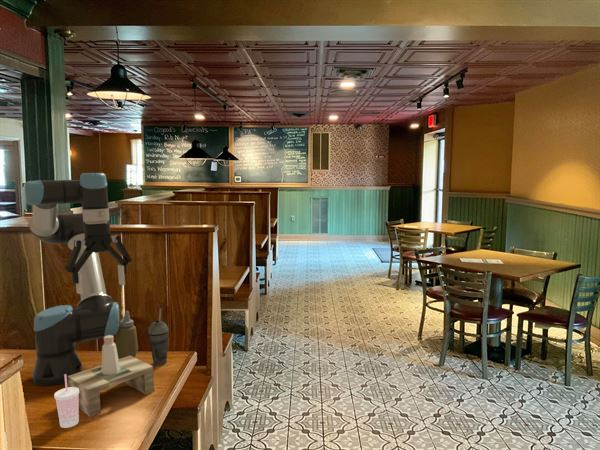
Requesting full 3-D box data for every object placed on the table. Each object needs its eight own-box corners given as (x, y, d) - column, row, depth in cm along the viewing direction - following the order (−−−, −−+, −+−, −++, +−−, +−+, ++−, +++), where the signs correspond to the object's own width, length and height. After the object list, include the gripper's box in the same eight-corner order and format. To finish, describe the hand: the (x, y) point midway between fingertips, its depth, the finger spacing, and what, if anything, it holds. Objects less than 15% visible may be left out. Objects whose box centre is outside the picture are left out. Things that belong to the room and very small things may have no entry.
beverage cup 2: (149, 360, 167) (146, 307, 165) (170, 357, 169) (167, 305, 167) (149, 368, 160) (145, 313, 158) (171, 365, 163) (167, 310, 160)
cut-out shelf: (69, 401, 138) (67, 376, 137) (132, 378, 153) (130, 355, 152) (90, 417, 129) (88, 389, 128) (154, 390, 143) (152, 366, 142)
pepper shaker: (100, 376, 136) (97, 340, 135) (102, 369, 141) (99, 334, 140) (119, 373, 138) (117, 338, 137) (121, 366, 143) (118, 332, 142)
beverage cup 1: (85, 422, 126) (81, 373, 124) (62, 432, 121) (57, 381, 120) (76, 415, 130) (72, 367, 128) (53, 424, 125) (48, 375, 124)
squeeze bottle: (130, 364, 164) (130, 315, 162) (109, 361, 166) (110, 313, 164) (142, 356, 172) (142, 309, 170) (122, 353, 174) (123, 307, 172)
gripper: (59, 227, 131) (65, 299, 134) (139, 219, 150) (143, 282, 152) (49, 225, 136) (55, 295, 139) (128, 218, 155) (132, 279, 157)
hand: (101, 289), depth 145 cm, fingers open, 13 cm apart
